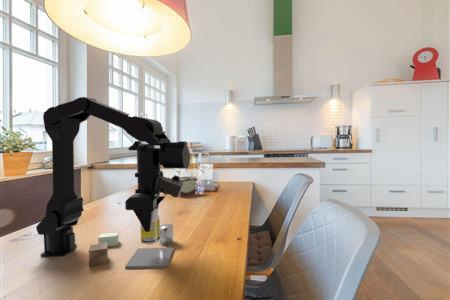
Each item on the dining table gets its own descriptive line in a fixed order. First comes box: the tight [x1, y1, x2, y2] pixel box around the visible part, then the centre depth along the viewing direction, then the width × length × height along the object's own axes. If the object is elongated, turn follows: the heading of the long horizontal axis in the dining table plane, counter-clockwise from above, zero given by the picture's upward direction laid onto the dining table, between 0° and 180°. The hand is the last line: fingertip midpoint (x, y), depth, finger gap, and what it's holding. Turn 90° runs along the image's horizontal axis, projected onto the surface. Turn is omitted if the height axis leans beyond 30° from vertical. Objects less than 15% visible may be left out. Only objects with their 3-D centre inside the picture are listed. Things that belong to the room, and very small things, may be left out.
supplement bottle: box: [140, 208, 161, 246], centre depth 66 cm, size 5×5×8 cm
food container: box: [178, 176, 198, 199], centre depth 140 cm, size 12×6×10 cm, turn 130°
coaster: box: [124, 246, 175, 270], centre depth 67 cm, size 10×10×1 cm
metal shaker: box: [159, 223, 174, 247], centre depth 77 cm, size 4×4×5 cm
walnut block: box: [88, 243, 109, 268], centre depth 65 cm, size 4×4×4 cm
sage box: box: [97, 232, 120, 247], centre depth 76 cm, size 5×3×3 cm, turn 104°
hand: (150, 227), depth 66 cm, fingers closed on supplement bottle, 5 cm apart
